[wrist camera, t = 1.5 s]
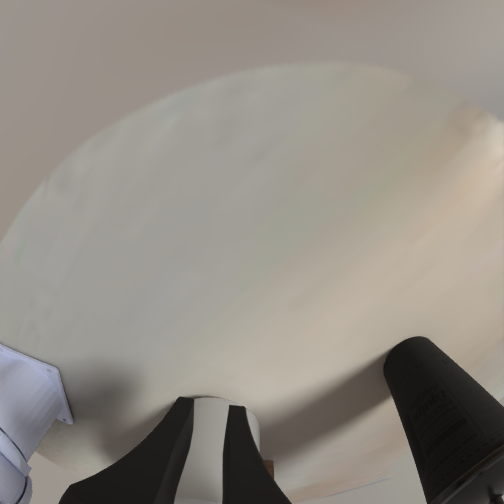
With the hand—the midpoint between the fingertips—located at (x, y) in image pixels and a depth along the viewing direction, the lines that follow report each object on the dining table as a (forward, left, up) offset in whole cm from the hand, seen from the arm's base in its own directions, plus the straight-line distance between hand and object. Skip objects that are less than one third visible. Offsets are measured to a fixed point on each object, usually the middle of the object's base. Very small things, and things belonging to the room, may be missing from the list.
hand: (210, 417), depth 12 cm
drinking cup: (+15, -2, -10) cm, 18 cm away
